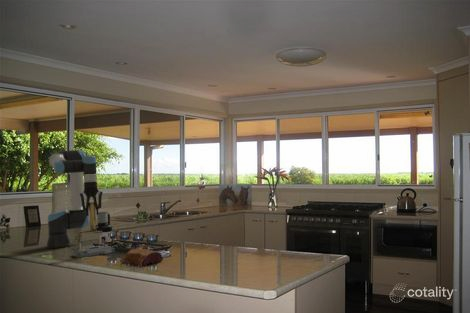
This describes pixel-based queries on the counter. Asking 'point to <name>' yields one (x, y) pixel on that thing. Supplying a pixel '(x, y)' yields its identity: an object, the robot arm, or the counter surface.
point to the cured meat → (142, 257)
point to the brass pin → (92, 215)
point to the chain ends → (94, 251)
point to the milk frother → (103, 220)
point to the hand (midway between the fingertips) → (92, 220)
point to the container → (105, 234)
